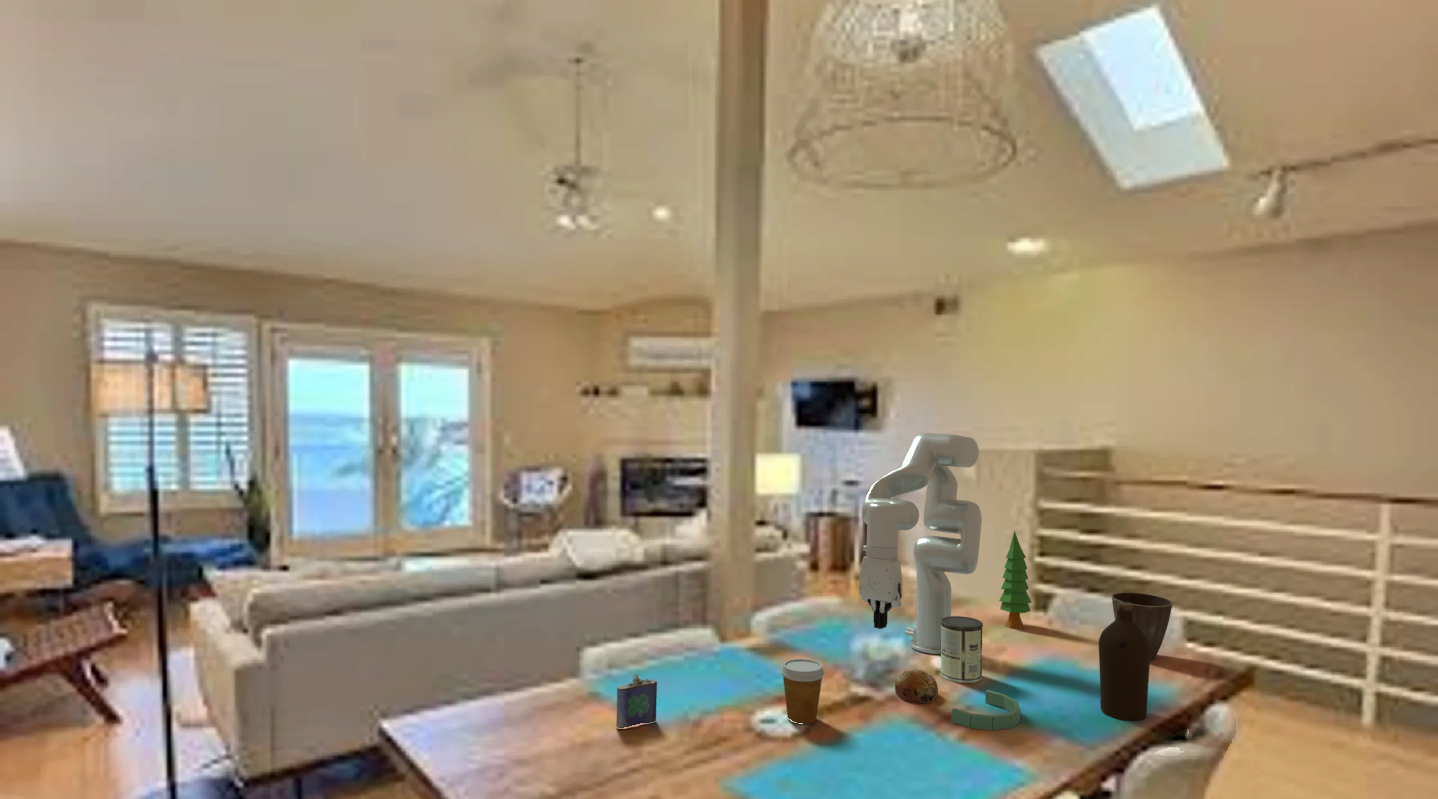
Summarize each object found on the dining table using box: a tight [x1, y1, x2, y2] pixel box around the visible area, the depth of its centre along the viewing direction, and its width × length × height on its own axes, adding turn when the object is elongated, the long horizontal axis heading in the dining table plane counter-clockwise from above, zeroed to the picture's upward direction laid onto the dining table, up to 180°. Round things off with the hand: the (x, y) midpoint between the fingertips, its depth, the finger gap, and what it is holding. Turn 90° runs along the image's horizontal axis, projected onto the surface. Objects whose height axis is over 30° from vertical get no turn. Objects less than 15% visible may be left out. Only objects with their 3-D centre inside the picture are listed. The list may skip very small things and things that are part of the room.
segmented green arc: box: [950, 689, 1021, 731], centre depth 183 cm, size 11×17×3 cm, turn 136°
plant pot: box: [1111, 591, 1173, 661], centre depth 227 cm, size 15×15×16 cm
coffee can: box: [940, 615, 984, 684], centre depth 209 cm, size 10×10×14 cm
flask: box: [616, 673, 658, 728], centre depth 177 cm, size 9×3×11 cm, turn 121°
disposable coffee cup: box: [780, 658, 825, 725], centre depth 181 cm, size 10×10×12 cm
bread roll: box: [894, 668, 939, 704], centre depth 196 cm, size 10×10×8 cm
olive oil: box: [1098, 602, 1151, 722], centre depth 186 cm, size 11×11×25 cm
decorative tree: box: [998, 530, 1032, 630], centre depth 256 cm, size 10×9×30 cm
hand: (880, 627), depth 202 cm, fingers closed
